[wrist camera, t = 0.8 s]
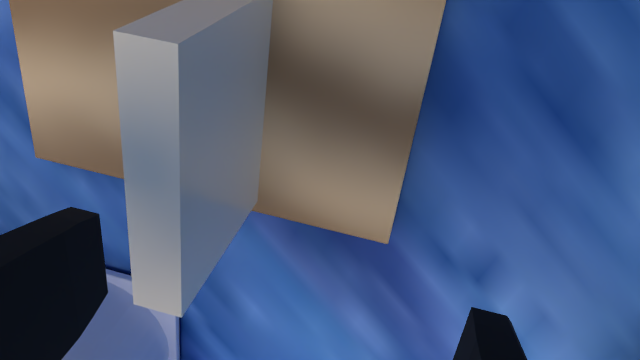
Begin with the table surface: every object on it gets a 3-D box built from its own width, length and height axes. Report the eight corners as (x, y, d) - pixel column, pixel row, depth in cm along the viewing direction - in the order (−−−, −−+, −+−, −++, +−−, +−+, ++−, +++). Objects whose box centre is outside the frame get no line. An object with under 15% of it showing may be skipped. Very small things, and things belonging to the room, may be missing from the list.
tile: (257, 201, 21) (181, 317, 15) (218, 191, 21) (130, 303, 16) (273, -12, 17) (178, 43, 11) (224, -21, 17) (108, 29, 12)
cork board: (391, 229, 21) (387, 244, 20) (51, 147, 23) (35, 157, 23) (473, -114, 15) (473, -114, 14) (1, -184, 17) (-23, -187, 16)
